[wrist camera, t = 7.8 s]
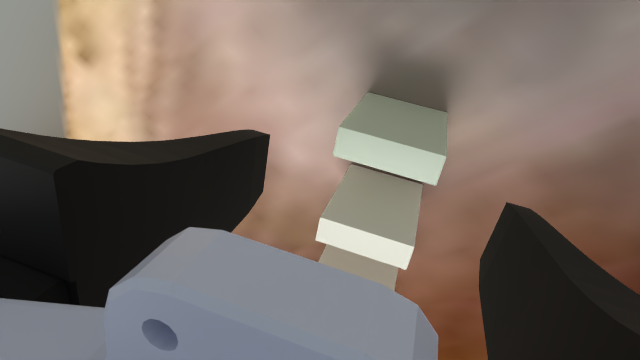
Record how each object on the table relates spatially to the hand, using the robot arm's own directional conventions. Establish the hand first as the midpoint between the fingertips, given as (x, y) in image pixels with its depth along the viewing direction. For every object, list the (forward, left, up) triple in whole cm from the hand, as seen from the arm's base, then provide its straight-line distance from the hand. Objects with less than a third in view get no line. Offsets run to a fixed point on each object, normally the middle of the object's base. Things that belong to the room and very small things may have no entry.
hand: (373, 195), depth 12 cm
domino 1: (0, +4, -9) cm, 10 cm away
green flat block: (0, 0, -9) cm, 9 cm away
